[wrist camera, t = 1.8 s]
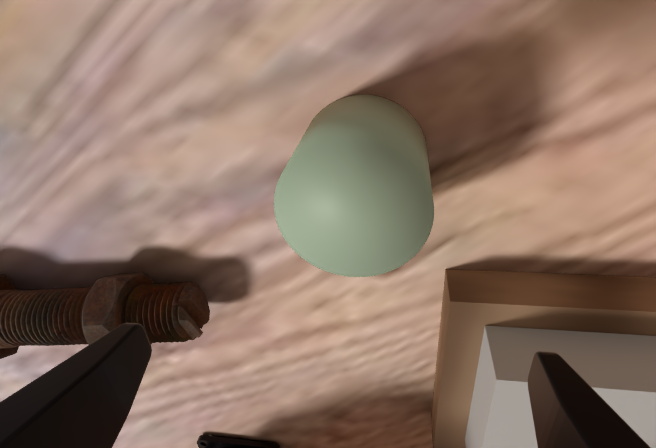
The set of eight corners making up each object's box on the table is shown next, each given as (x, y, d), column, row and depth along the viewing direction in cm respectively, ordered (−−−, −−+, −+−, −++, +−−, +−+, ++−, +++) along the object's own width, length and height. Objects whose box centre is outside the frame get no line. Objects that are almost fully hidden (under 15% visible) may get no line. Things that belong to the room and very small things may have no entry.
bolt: (225, 277, 26) (21, 288, 29) (186, 242, 22) (-49, 259, 25) (211, 375, 24) (-13, 377, 26) (163, 356, 19) (-99, 361, 22)
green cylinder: (308, 209, 21) (283, 273, 16) (296, 96, 18) (263, 138, 14) (423, 211, 20) (429, 280, 16) (430, 92, 17) (439, 137, 13)
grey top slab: (464, 439, 24) (471, 494, 22) (484, 325, 20) (496, 379, 17) (638, 457, 23) (667, 518, 20) (705, 339, 18) (753, 400, 16)
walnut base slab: (430, 407, 28) (433, 451, 25) (444, 261, 22) (450, 301, 19) (630, 425, 26) (655, 475, 24) (710, 271, 20) (754, 317, 17)
